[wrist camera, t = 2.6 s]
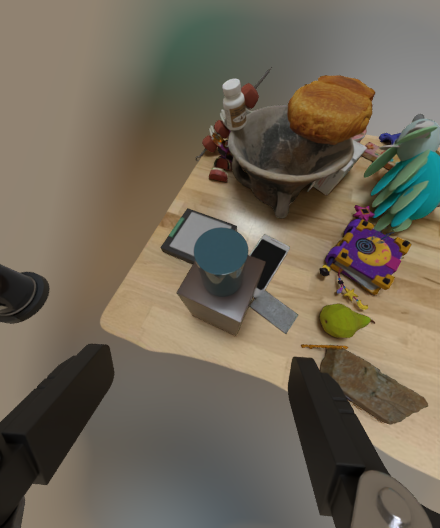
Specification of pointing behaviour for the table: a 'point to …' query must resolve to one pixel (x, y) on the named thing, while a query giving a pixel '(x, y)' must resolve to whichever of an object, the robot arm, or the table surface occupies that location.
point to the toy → (375, 152)
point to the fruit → (342, 321)
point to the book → (365, 256)
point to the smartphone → (268, 259)
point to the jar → (221, 260)
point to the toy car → (222, 146)
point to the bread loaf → (331, 109)
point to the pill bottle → (234, 105)
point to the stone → (371, 387)
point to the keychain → (324, 346)
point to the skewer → (221, 126)
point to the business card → (274, 311)
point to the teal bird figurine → (408, 176)
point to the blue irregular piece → (389, 137)
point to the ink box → (338, 172)
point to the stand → (221, 298)
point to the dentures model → (219, 173)
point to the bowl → (281, 158)
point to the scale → (190, 234)
